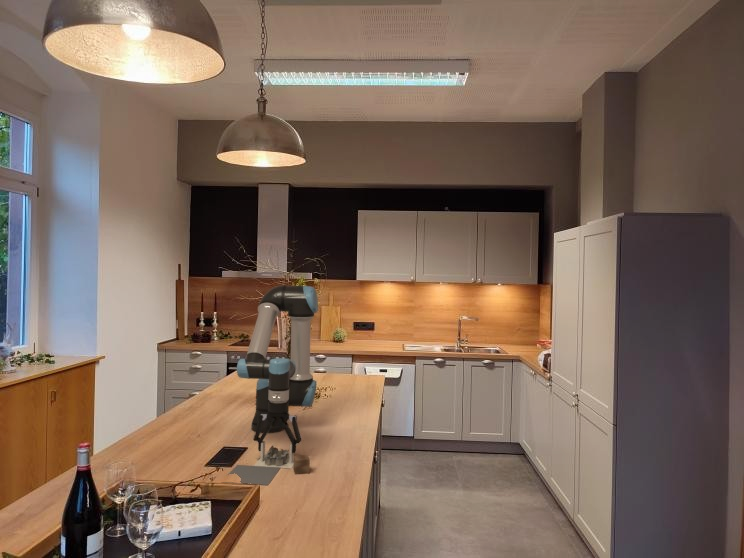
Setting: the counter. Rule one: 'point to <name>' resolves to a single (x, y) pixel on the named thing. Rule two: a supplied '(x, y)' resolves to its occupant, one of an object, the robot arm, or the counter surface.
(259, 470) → the slate coaster
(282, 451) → the egg carton
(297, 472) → the walnut block
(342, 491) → the counter surface
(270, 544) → the counter surface
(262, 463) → the tile
